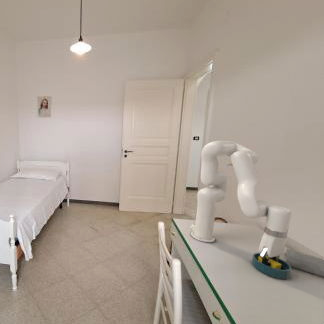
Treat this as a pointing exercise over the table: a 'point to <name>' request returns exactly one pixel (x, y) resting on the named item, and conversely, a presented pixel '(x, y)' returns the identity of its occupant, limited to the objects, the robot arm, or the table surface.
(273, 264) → the sponge
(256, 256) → the bowl
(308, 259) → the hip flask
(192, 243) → the table surface
